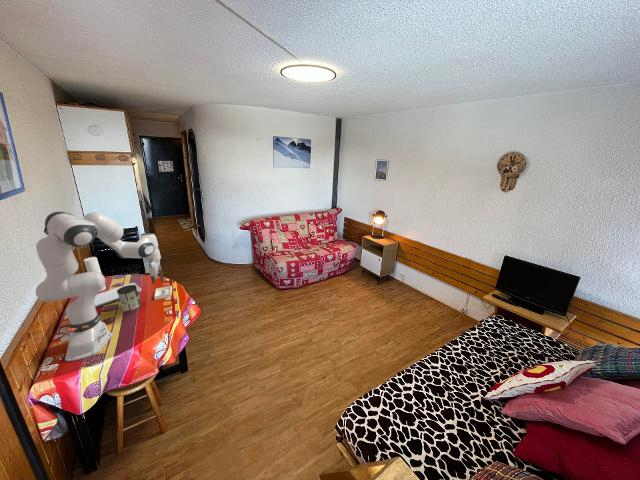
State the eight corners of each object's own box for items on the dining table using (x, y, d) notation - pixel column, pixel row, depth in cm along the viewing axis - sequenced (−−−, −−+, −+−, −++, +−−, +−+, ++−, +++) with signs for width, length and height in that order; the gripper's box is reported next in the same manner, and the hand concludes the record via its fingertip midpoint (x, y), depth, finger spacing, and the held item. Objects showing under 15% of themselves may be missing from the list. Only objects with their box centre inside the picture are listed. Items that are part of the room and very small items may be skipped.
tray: (143, 293, 189) (142, 289, 188) (87, 313, 166) (85, 308, 165) (135, 286, 199) (134, 282, 198) (82, 303, 176) (80, 299, 175)
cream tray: (171, 297, 184) (170, 293, 182) (155, 300, 179) (154, 296, 178) (172, 289, 194) (171, 285, 193) (156, 292, 190) (156, 288, 189)
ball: (166, 294, 186) (165, 290, 185) (161, 295, 184) (160, 291, 184) (166, 292, 188) (165, 288, 187) (161, 293, 187) (160, 289, 186)
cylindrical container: (99, 292, 189) (89, 261, 181) (91, 291, 191) (81, 260, 183) (108, 287, 196) (99, 257, 188) (100, 286, 197) (91, 256, 189)
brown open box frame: (163, 282, 172) (160, 269, 168) (152, 284, 169) (149, 270, 166) (163, 278, 177) (161, 265, 173) (153, 280, 174) (150, 267, 171)
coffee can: (130, 302, 177) (125, 284, 172) (144, 303, 176) (140, 285, 171) (118, 311, 167) (112, 292, 163) (133, 312, 166) (127, 293, 162)
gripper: (156, 262, 159) (160, 281, 164) (159, 250, 177) (163, 269, 181) (144, 263, 157) (149, 283, 161) (149, 252, 174) (153, 270, 179)
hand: (157, 276), depth 172 cm, fingers closed on brown open box frame, 5 cm apart
